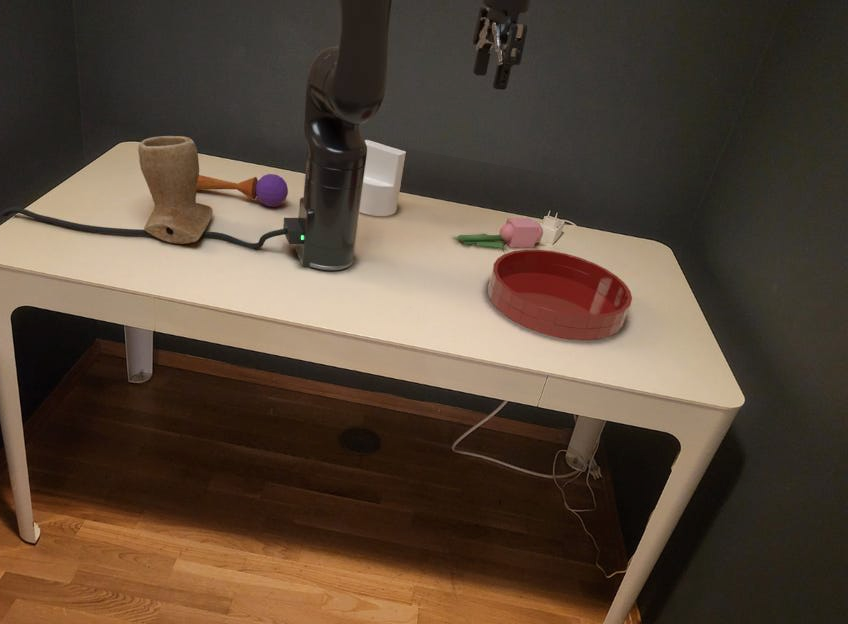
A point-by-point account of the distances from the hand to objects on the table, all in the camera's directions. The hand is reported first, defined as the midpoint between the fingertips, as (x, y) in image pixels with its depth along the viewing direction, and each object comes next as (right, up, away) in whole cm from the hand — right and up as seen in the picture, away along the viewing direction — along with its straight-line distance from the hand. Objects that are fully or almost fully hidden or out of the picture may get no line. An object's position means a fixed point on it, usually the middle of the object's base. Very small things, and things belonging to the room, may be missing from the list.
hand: (489, 81), depth 126 cm
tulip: (+4, -25, +15) cm, 29 cm away
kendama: (-46, -17, +16) cm, 51 cm away
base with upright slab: (-19, -17, +21) cm, 33 cm away
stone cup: (-54, -25, +2) cm, 59 cm away
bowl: (+10, -38, -3) cm, 40 cm away
